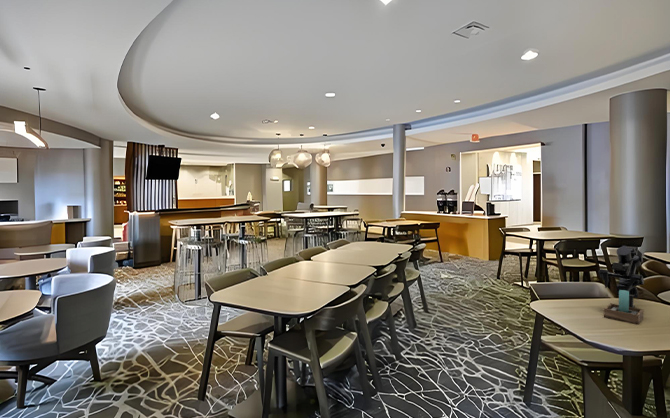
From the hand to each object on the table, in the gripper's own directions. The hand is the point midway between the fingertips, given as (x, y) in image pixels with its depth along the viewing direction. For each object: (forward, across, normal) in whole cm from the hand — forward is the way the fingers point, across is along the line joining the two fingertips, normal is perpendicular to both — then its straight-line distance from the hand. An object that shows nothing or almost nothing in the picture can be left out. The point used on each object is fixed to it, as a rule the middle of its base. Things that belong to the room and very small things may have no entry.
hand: (616, 289), depth 185 cm
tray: (+12, +4, +8) cm, 14 cm away
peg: (+11, +4, +7) cm, 13 cm away
